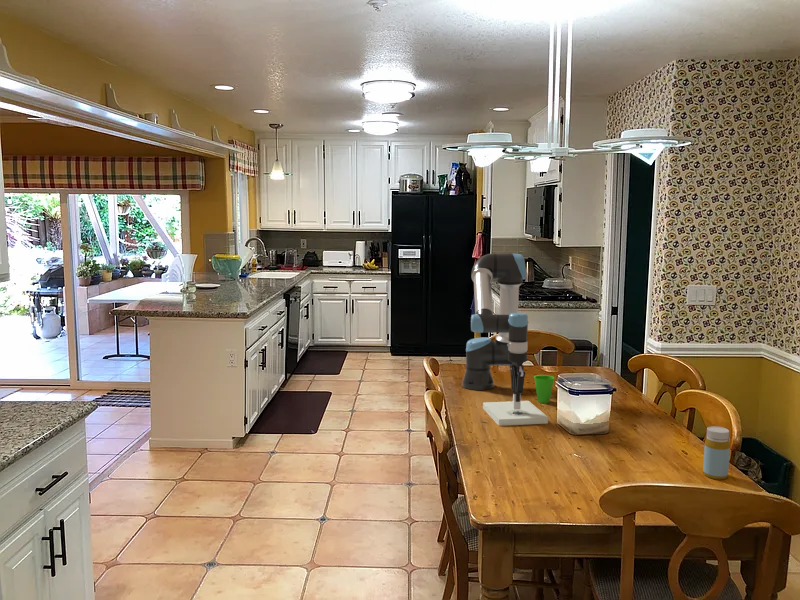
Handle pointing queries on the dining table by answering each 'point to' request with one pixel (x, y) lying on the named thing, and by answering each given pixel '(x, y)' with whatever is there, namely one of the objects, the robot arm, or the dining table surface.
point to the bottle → (716, 453)
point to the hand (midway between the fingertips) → (516, 408)
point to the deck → (506, 416)
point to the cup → (543, 387)
